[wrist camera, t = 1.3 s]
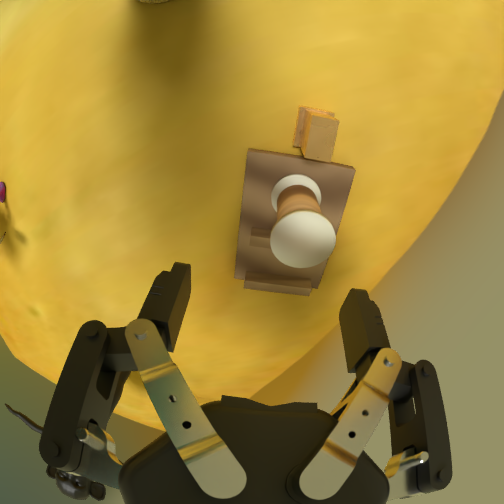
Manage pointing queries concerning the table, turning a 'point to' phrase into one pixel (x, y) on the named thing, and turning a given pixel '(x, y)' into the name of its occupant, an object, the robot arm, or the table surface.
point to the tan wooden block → (315, 133)
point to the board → (268, 216)
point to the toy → (2, 199)
